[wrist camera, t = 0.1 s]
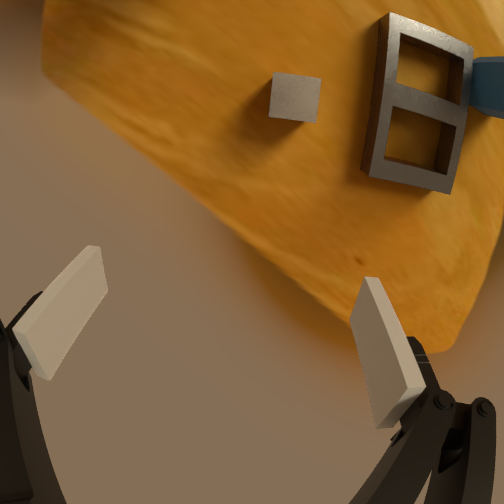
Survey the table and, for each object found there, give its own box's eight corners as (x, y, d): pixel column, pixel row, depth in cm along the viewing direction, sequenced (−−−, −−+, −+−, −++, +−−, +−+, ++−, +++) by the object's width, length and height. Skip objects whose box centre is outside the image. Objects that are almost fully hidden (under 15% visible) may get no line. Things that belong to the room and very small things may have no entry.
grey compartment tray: (379, 18, 27) (389, 12, 24) (458, 49, 27) (473, 47, 24) (360, 168, 38) (368, 176, 34) (437, 186, 38) (450, 194, 34)
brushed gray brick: (273, 77, 33) (273, 72, 27) (312, 82, 33) (321, 78, 27) (269, 114, 35) (268, 116, 29) (308, 119, 35) (315, 123, 29)
